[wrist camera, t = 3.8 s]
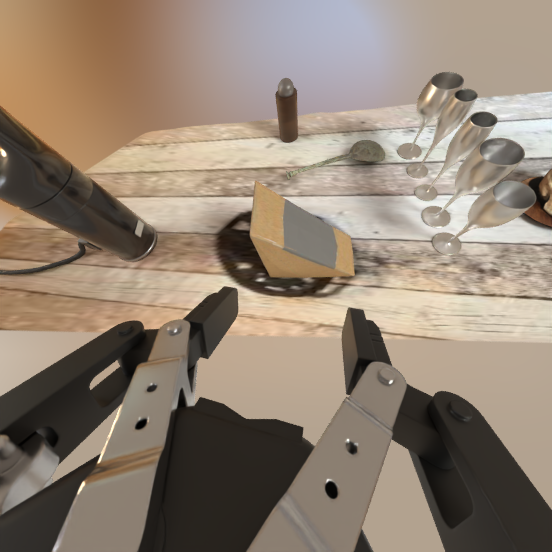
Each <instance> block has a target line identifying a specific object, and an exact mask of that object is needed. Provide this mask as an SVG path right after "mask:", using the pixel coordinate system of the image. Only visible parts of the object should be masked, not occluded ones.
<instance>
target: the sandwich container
mask: <svg viewBox="0 0 552 552" xmlns="http://www.w3.org/2000/svg"><path fill="white" fill-rule="evenodd" d="M250 238H251V240H252V242H253V244H254V246H255V248H256V250H257V252H258V254H259V256H260V258H261V260H262V262H263V264H264V265H265V267H266V269H267V271H268V273H269V275H270V277H295V278H307V277H336V276H354V260H353V251H352V245H351V239H350V236H349V235H347V234H345V233H343V232H342V231H340V230H338V229H336V228H334V227H332V226H331V225H329V224H327V223H325V222H324V221H322V220H320V219H318V218H317V217H315V216H313V215H312V214H310V213H308V212H307V211H305V210H303V209H301V208H300V207H298V206H296V205H295V204H293V203H291V202H290V201H288V200H286V199H285V198H283V197H281V196H280V195H278V194H276V193H275V192H273V191H272V190H270V189H268V188H267V187H265V186H264V185H262V184H260V183H259V182H257V181H255V187H254V198H253V208H252V217H251V226H250Z"/></svg>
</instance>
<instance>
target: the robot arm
mask: <svg viewBox="0 0 552 552" xmlns="http://www.w3.org/2000/svg"><path fill="white" fill-rule="evenodd" d="M0 199H1V200H2V201H4V202H6V203H8V204H10V205H13V206H15V207H17V208H19V209H21V210H23V211H25V212H27V213H29V214H31V215H33V216H35V217H37V218H39V219H41V220H43V221H46V222H48V223H50V224H52V225H54V226H56V227H58V228H60V229H62V230H64V231H66V232H68V233H70V234H72V235H74V236H76V237H78V238H79V240H78V246H79V248H80V251H79V252H78V253H77V254H76V255H74V256H72V257H70V258H68V259H65V260H62V261H59V262H56V263H52V264H49V265H46V266H42V267H38V268H32V269H25V270H12V271H6V270H0V274H8V275H12V274H25V273H33V272H39V271H43V270H47V269H50V268H53V267H57V266H60V265H63V264H66V263H69V262H72V261H74V260H76V259H78V258H80V257H81V256H82V255H83V254H84V253H85V251H86V249H85V246H87V247H89V248H91V249H96V250H102V249H103V250H105V251H107V252H109V253H111V254H113V255H115V256H117V257H119V258H120V259H122V260H124V261H127V262H135V261H139V260H141V259H143V258H145V257H146V256H147V255H148V254H149V253H150V252H151V251H152V250H153V249H154V247H155V245H156V242H157V232H156V230H155V229H154V228H153V227H152V226H151V225H149V224H147V223H146V222H145V221H144V220H142V219H141V218H140V217H139V216H137V215H136V214H135V213H134V212H132V211H131V210H130V209H129V208H127V207H126V206H125V205H124V204H122V203H121V202H120V201H119V200H117V199H116V198H115V197H113V196H112V195H111V194H110V193H108V192H107V191H106V190H105V189H103V188H102V187H101V186H100V185H98V184H97V183H96V182H95V181H93V180H92V179H91V178H90V177H88V176H87V175H86V174H84V173H83V172H82V171H81V170H79V169H78V168H77V167H76V166H74V165H73V164H72V163H70V162H69V161H68V160H67V159H65V158H64V157H63V156H62V155H60V154H59V153H58V152H57V151H55V150H54V149H53V148H52V147H50V146H49V145H48V144H47V143H45V142H44V141H43V140H42V139H41V138H39V137H38V136H37V135H36V134H34V133H33V132H32V131H31V130H29V129H28V128H27V127H26V126H24V125H23V124H22V123H21V122H20V121H18V120H17V119H16V118H15V117H13V116H12V115H11V114H10V113H9V112H7V111H6V110H5V109H4V108H3V107H1V106H0ZM84 245H85V246H84ZM237 314H238V292H237V289H236V288H232V287H226V286H224V287H223V288H222V289H221V290H220V291H219V292H218V293H213V294H211V295H209V296H207V297H206V298H205V299H204V300H203V301H202V302H201V303H200V304H199V305H198V306H197V307H196V308H194V309H193V310H192V311H191V312H190V313H189V314H188V315H187V316H186V317H185V318H184V319H183V320H173V321H170V322H168V323H166V324H164V325H163V326H162V327H161V328H160V329H149V330H144V326H143V324H142V323H141V322H140V321H127V322H123V323H121V324H118V325H116V326H115V327H113V328H111V329H110V330H108V331H107V332H105V333H103V334H102V335H100V336H98V337H97V338H95V339H93V340H92V341H90V342H89V343H87V344H85V345H84V346H82V347H80V348H79V349H77V350H76V351H74V352H72V353H71V354H69V355H67V356H66V357H64V358H62V359H61V360H59V361H58V362H56V363H54V364H53V365H51V366H50V367H48V368H46V369H45V370H43V371H41V372H40V373H38V374H36V375H35V376H33V377H31V378H30V379H29V380H27V381H25V382H23V383H22V384H20V385H19V386H17V387H15V388H14V389H12V390H10V391H9V392H7V393H5V394H4V395H2V396H0V552H373V550H372V548H371V546H370V544H369V542H368V540H367V538H366V536H365V534H364V532H363V530H362V526H363V523H364V520H365V517H366V514H367V511H368V508H369V505H370V502H371V498H372V496H373V493H374V490H375V487H376V484H377V481H378V478H379V475H380V472H381V469H382V466H383V462H384V460H385V457H386V454H387V451H388V448H389V445H390V442H391V439H392V440H394V441H395V442H397V443H398V444H400V445H402V446H403V447H405V448H407V449H408V450H409V453H410V455H411V458H412V461H413V464H414V467H415V469H416V472H417V475H418V477H419V480H420V483H421V486H422V489H423V491H424V494H425V497H426V499H427V502H428V505H429V508H430V511H431V513H432V516H433V519H434V521H435V524H436V527H437V530H438V532H439V535H440V538H441V541H442V543H443V546H444V549H445V552H552V510H551V509H550V507H549V506H548V504H547V503H546V502H545V500H544V499H543V498H542V496H541V495H540V493H539V492H538V491H537V489H536V488H535V487H534V486H533V484H532V483H531V481H530V480H529V478H528V477H527V476H526V474H525V473H524V472H523V470H522V469H521V468H520V466H519V465H518V464H517V462H516V461H515V459H514V458H513V457H512V455H511V454H510V453H509V451H508V450H507V449H506V447H505V446H504V445H503V443H502V442H501V440H500V439H499V438H498V436H497V435H496V434H495V432H494V431H493V429H492V428H491V427H490V425H489V424H488V423H487V421H486V420H485V419H484V417H483V416H482V415H481V413H480V412H479V411H478V410H477V409H476V408H475V407H474V406H473V405H472V404H470V403H469V402H468V401H466V400H465V399H463V398H462V397H460V396H458V395H456V394H453V393H450V392H446V391H440V392H437V393H435V395H434V396H433V397H432V396H430V395H428V394H426V393H424V392H422V391H419V390H417V389H415V388H413V387H411V386H410V385H408V384H407V383H406V380H405V378H404V377H403V375H402V374H401V373H400V372H399V371H398V370H396V369H395V368H394V367H392V364H391V361H390V358H389V356H388V353H387V350H386V347H385V344H384V341H383V338H382V337H381V332H380V330H379V327H378V326H377V325H376V324H375V323H374V322H373V321H371V320H366V318H365V314H364V311H363V310H361V309H355V308H348V310H347V314H346V318H345V322H344V326H343V331H342V349H343V362H344V373H345V385H346V394H347V395H350V396H349V398H347V397H346V398H345V399H344V401H343V403H342V404H341V406H340V408H339V409H338V410H337V412H336V414H335V415H334V417H333V418H332V420H331V422H330V423H329V425H328V426H327V428H326V430H325V431H324V433H323V434H322V436H321V438H320V439H319V441H318V442H317V444H316V446H314V445H312V444H311V443H310V442H309V441H308V440H306V439H305V438H303V437H302V435H303V427H300V426H297V425H293V424H290V423H287V422H283V421H280V420H277V419H246V418H244V417H242V416H241V415H239V414H238V413H236V412H235V411H233V410H232V409H230V408H229V407H227V406H226V405H224V404H222V403H219V402H215V401H212V400H209V399H205V398H202V397H200V398H199V400H198V401H197V403H196V404H195V402H194V399H195V387H196V377H197V361H198V360H199V358H200V357H202V358H206V359H208V358H209V357H210V355H211V354H212V352H213V351H214V350H215V348H216V347H217V345H218V344H219V342H220V341H221V339H222V338H223V337H224V335H225V334H226V332H227V331H228V329H229V328H230V326H231V325H232V323H233V322H234V320H235V319H236V317H237ZM116 360H118V363H119V365H120V367H119V368H118V369H116V370H115V371H114V372H113V373H111V374H110V375H109V376H108V377H106V378H105V379H104V380H103V381H101V382H100V383H99V384H98V385H97V386H95V387H94V388H93V389H92V390H90V388H89V386H90V383H91V381H92V380H93V378H94V377H95V376H97V375H98V374H99V373H100V372H102V371H103V370H104V369H105V368H107V367H108V366H110V365H111V364H112V363H113V362H115V361H116ZM120 404H122V405H121V407H120V410H119V412H118V414H117V417H116V419H115V422H114V424H113V426H112V429H111V431H110V434H109V436H108V439H107V441H106V444H105V446H104V448H103V451H102V453H101V454H99V455H98V456H96V457H94V458H93V459H91V460H90V461H88V462H86V463H85V464H83V465H81V466H80V467H78V468H77V469H75V470H73V471H72V472H70V473H68V474H67V475H65V476H63V477H62V478H60V479H59V480H57V481H55V482H54V483H52V482H53V479H52V478H51V477H52V475H53V474H54V472H55V470H56V468H57V466H58V465H59V464H60V463H61V462H62V461H63V460H64V459H65V458H66V457H67V456H68V455H69V454H70V453H71V452H72V451H73V450H74V449H75V448H76V447H77V446H78V445H79V444H80V443H81V442H83V441H84V440H85V439H86V437H88V436H89V435H90V434H91V433H92V432H93V431H94V430H95V429H96V428H97V427H98V426H99V425H100V424H101V423H102V422H103V421H104V420H105V419H106V418H107V417H108V416H109V415H110V414H111V413H112V412H113V411H114V410H115V409H116V408H117V407H118V406H119V405H120Z"/></svg>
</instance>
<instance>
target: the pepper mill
mask: <svg viewBox="0 0 552 552" xmlns="http://www.w3.org/2000/svg"><path fill="white" fill-rule="evenodd" d="M276 103H277V112H278V121H279V130H280V138H281V140H282V141H283V142H286V143H289V142H293V141H295V140H296V139H297V137H298V119H297V90H296V89H295V88H294V86H293V83H292V81H291V80H290V79H288V78H284V79H282V80H281V81H280V83H279V86H278V91H277V92H276Z"/></svg>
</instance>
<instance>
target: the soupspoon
mask: <svg viewBox="0 0 552 552" xmlns="http://www.w3.org/2000/svg"><path fill="white" fill-rule="evenodd" d="M347 158H353V159H356V160H361V161H368V162H369V161H371V162H373V161H382V160H383V159H384V158H385V152H384V150H383V148H382V147H381V146H380V145H379V144H378V143H376V142H374V141H371V140H362V141H359V142H357V143H355V144H354V145H353V146H352V148H351V150H350V153H349V154H346V155H342V156H338V157H335V158H332V159H329V160H326V161H323V162H320V163H317V164H314V165H311V166H308V167H305V168H302V169H298V170H297V171H296V170H295V171H292V172H290V173H288V172H287V171H286V173H287V177H288V179H290V177H292V176H294V175H296V174H297V173H300V172H303V171H306V170H309V169H312V168H315V167H318V166H322V165H325V164H328V163H331V162H334V161H338V160H342V159H347Z"/></svg>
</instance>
